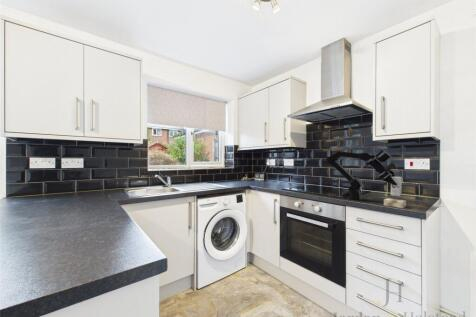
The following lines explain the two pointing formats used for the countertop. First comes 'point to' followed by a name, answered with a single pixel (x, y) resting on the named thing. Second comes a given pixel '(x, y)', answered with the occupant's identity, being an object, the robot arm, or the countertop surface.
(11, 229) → the countertop surface
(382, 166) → the robot arm
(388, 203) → the birch block
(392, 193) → the ink box
